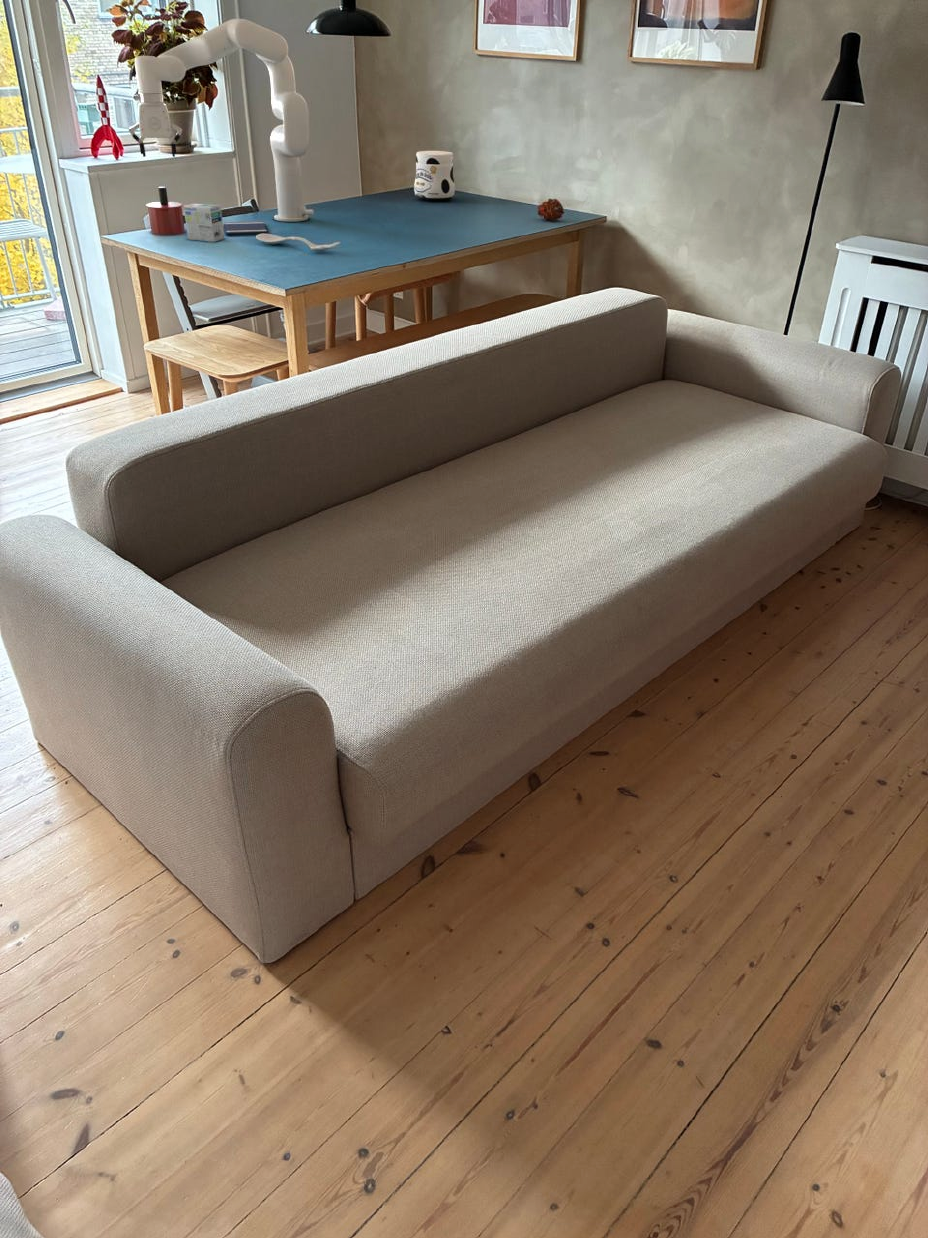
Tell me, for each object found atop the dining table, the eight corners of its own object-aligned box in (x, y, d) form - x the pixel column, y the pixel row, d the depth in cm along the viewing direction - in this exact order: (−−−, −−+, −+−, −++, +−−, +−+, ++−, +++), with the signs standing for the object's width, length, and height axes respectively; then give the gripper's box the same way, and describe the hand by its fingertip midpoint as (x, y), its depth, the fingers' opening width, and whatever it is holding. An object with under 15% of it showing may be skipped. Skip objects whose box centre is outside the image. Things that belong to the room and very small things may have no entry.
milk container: (410, 201, 396) (409, 154, 387) (418, 195, 411) (418, 149, 401) (450, 203, 394) (451, 155, 384) (458, 197, 408) (458, 151, 399)
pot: (184, 227, 339) (181, 201, 335) (185, 236, 326) (181, 209, 321) (152, 228, 337) (148, 202, 332) (151, 237, 323) (147, 210, 319)
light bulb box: (225, 238, 323) (221, 204, 317) (214, 242, 318) (210, 207, 312) (198, 236, 326) (193, 202, 320) (187, 239, 320) (182, 205, 315)
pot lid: (182, 204, 333) (180, 184, 330) (183, 210, 323) (180, 189, 320) (147, 205, 331) (144, 184, 327) (146, 211, 321) (143, 189, 317)
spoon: (323, 256, 302) (322, 245, 300) (251, 243, 317) (250, 232, 315) (341, 252, 308) (341, 240, 306) (270, 239, 323) (269, 228, 321)
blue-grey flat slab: (263, 224, 347) (263, 221, 346) (267, 234, 330) (267, 231, 330) (224, 225, 344) (223, 222, 343) (226, 235, 327) (226, 232, 327)
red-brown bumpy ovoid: (561, 227, 361) (538, 227, 369) (572, 211, 363) (549, 212, 371) (551, 209, 355) (528, 210, 363) (563, 192, 357) (540, 194, 365)
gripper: (123, 99, 308) (132, 157, 317) (178, 100, 312) (185, 157, 321) (124, 97, 314) (133, 154, 324) (178, 98, 318) (185, 154, 327)
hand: (159, 156), depth 322 cm, fingers open, 9 cm apart
